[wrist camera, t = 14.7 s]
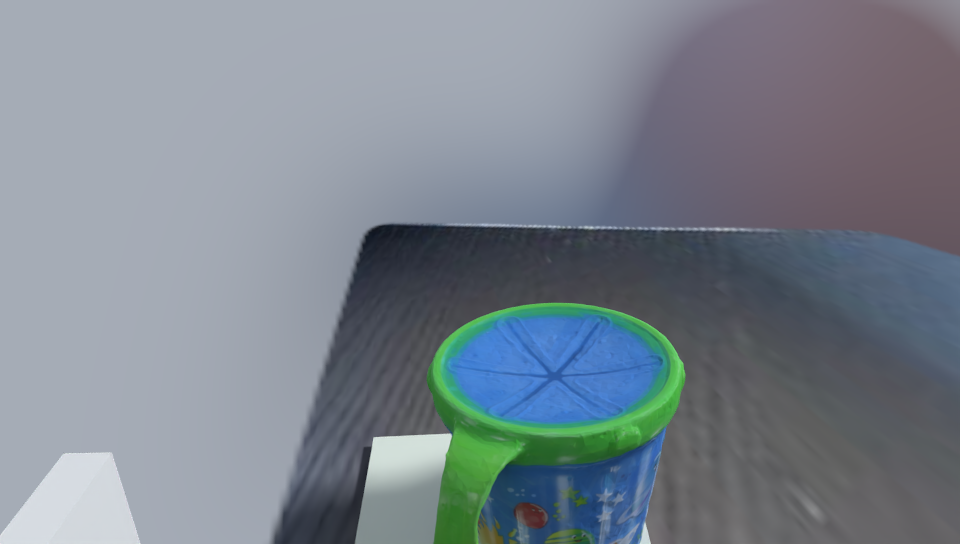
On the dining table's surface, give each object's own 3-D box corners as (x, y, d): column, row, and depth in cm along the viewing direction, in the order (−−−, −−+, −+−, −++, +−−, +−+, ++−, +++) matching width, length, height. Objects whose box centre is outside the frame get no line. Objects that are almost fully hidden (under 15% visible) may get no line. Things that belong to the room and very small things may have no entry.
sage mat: (374, 445, 50) (373, 437, 50) (620, 434, 50) (620, 425, 49) (333, 684, 35) (331, 673, 35) (679, 670, 35) (680, 659, 35)
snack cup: (551, 722, 33) (545, 507, 28) (359, 593, 39) (331, 401, 35) (737, 499, 43) (753, 318, 39) (562, 426, 50) (559, 264, 45)
